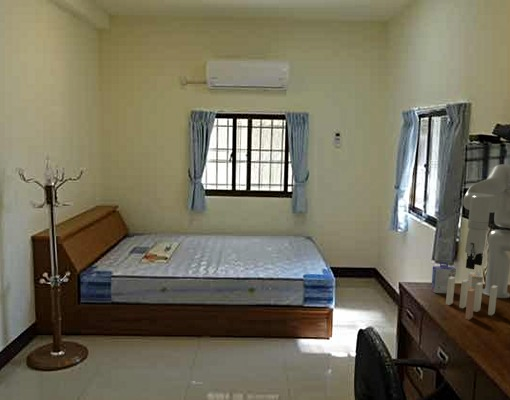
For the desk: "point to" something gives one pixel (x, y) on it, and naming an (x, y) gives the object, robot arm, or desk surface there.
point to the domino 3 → (470, 304)
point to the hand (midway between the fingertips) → (473, 266)
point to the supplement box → (474, 280)
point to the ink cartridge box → (441, 277)
